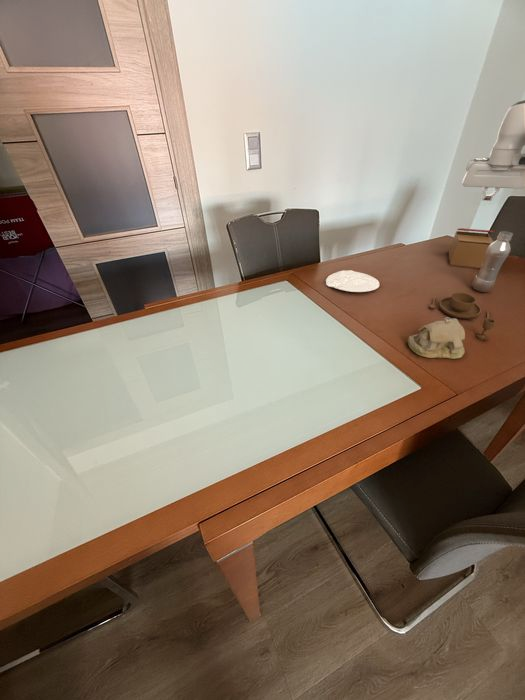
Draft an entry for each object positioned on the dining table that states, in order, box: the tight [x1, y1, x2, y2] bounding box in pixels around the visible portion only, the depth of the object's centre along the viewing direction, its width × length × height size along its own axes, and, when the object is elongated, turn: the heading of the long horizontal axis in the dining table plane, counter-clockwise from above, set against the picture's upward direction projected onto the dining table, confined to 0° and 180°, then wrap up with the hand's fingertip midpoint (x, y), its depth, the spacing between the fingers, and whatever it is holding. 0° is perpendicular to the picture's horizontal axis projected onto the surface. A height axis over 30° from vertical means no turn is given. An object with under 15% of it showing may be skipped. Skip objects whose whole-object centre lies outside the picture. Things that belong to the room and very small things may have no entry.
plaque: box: [325, 269, 380, 293], centre depth 116 cm, size 20×20×2 cm
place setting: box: [428, 292, 496, 341], centre depth 94 cm, size 18×20×6 cm
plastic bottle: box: [471, 230, 514, 293], centre depth 102 cm, size 6×7×20 cm
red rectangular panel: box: [456, 227, 494, 234], centre depth 124 cm, size 7×12×1 cm, turn 67°
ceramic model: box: [407, 316, 466, 359], centre depth 82 cm, size 14×11×10 cm
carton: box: [448, 230, 494, 269], centre depth 125 cm, size 14×12×10 cm
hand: (486, 200), depth 116 cm, fingers closed
